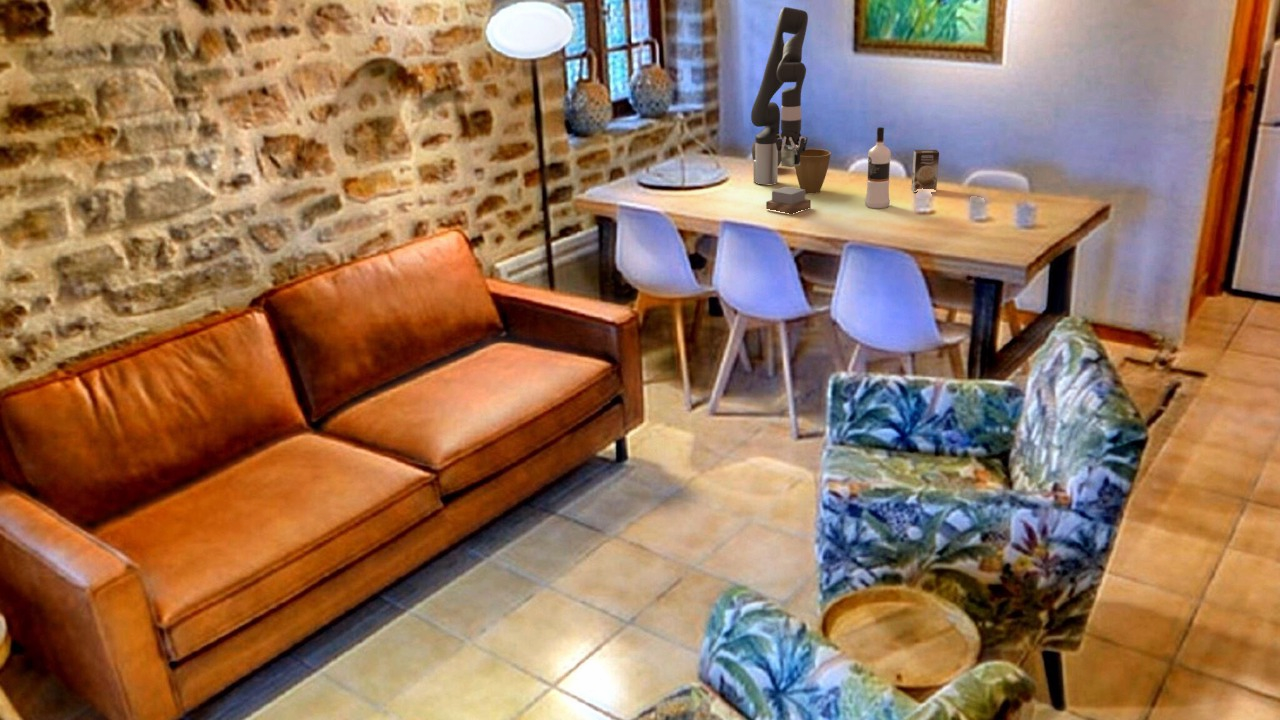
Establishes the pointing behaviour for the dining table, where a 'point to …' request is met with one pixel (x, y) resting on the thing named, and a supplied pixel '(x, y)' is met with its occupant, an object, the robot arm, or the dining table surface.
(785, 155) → the sage block
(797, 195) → the tower upper block
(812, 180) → the plant pot
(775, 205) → the tower lower block
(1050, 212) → the dining table surface
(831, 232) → the dining table surface
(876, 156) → the vodka
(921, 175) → the coffee box
